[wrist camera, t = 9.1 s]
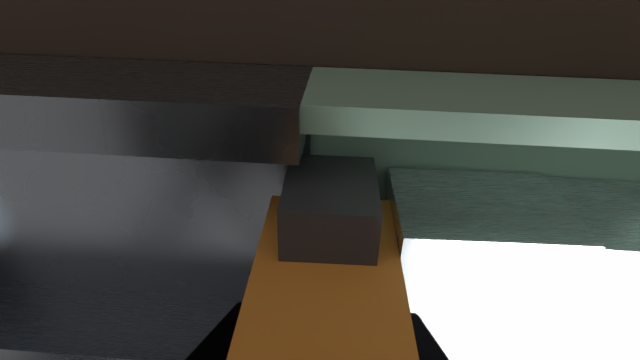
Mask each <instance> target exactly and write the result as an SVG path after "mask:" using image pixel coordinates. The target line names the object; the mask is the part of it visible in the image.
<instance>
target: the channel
mask: <svg viewBox="0 0 640 360" xmlns="http://www.w3.org/2000/svg"><path fill="white" fill-rule="evenodd" d="M312 68H313V67H306V66H282V65H258V64H234V63H210V62H186V61H162V60H138V59H114V58H90V57H66V56H42V55H18V54H0V360H185V359H186V357H187V356H188V355H189V354H190V353H191V352H192V351H193V350H194V349H195V348H196V347H197V345H198V344H199V343H200V342H201V341H202V340H203V339H204V338H205V337H206V336H207V335H208V333H209V332H210V331H211V330H212V329H213V328H214V327H215V326H216V325H217V324H218V323H219V321H220V320H221V319H222V318H223V317H224V316H225V315H226V314H227V313H228V312H229V311H230V309H231V308H232V307H233V306H234V305H235V304H236V303H237V302H239V301H243V298H244V294H245V291H246V287H247V283H248V280H249V276H250V273H251V269H252V265H253V262H254V258H255V255H256V251H257V247H258V244H259V240H260V237H261V233H262V229H263V226H264V222H265V219H266V215H267V211H268V208H269V204H270V201H271V197H272V195H274V196H281V192H282V188H283V184H284V180H285V176H286V172H287V168H288V165H299V164H300V160H301V156H302V154H303V155H311V134H300V104H301V101H302V98H303V95H304V92H305V89H306V86H307V83H308V80H309V77H310V74H311V71H312Z"/></svg>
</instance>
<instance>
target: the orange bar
mask: <svg viewBox="0 0 640 360" xmlns="http://www.w3.org/2000/svg"><path fill="white" fill-rule="evenodd" d="M226 360H419V356H418V351H417V345H416V340H415V334H414V329H413V324H412V318H411V313H410V307H409V302H408V297H407V291H406V286H405V281H404V275H403V270H402V264H401V259H400V254H399V248H398V243H397V237H396V232H395V227H394V221H393V216H392V210H391V205H390V201H389V200H380V194H379V187H378V181H377V174H376V167H375V161H374V157H352V156H327V155H303V154H302V156H301V160H300V164H299V165H288V168H287V172H286V176H285V180H284V184H283V188H282V192H281V196H274V195H272V197H271V201H270V204H269V208H268V211H267V215H266V219H265V222H264V226H263V229H262V233H261V237H260V240H259V244H258V247H257V251H256V255H255V258H254V262H253V265H252V269H251V273H250V276H249V280H248V283H247V287H246V291H245V294H244V298H243V301H242V305H241V309H240V312H239V316H238V319H237V323H236V327H235V330H234V334H233V337H232V341H231V345H230V348H229V352H228V355H227V359H226Z"/></svg>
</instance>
